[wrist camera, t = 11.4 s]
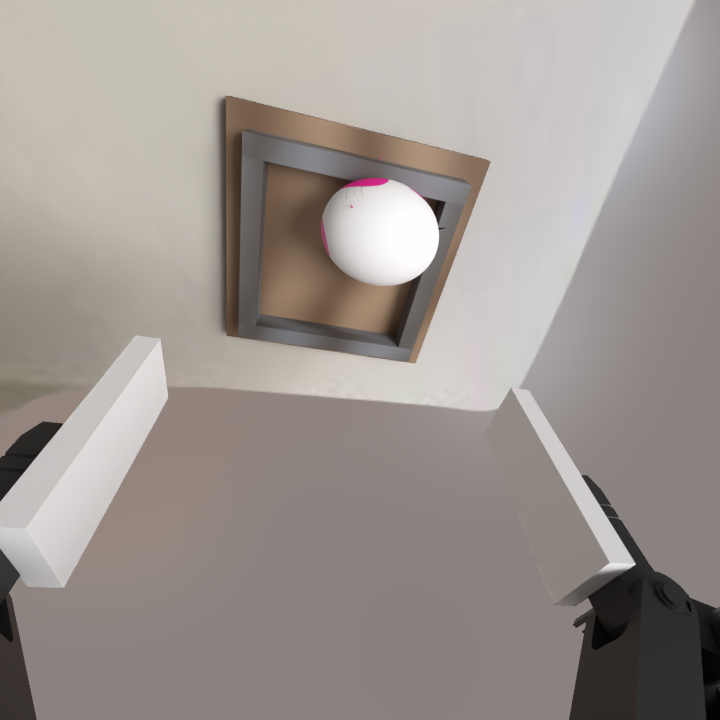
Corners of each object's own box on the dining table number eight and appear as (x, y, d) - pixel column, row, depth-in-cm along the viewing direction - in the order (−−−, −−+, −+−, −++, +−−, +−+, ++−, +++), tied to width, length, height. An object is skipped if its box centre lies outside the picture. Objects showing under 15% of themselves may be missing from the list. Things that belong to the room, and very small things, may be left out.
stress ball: (394, 196, 27) (460, 148, 22) (396, 302, 27) (462, 281, 21) (299, 168, 23) (347, 100, 18) (299, 290, 23) (348, 262, 17)
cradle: (229, 329, 30) (220, 348, 28) (230, 96, 21) (216, 96, 19) (413, 356, 33) (418, 376, 30) (485, 159, 23) (500, 166, 21)
